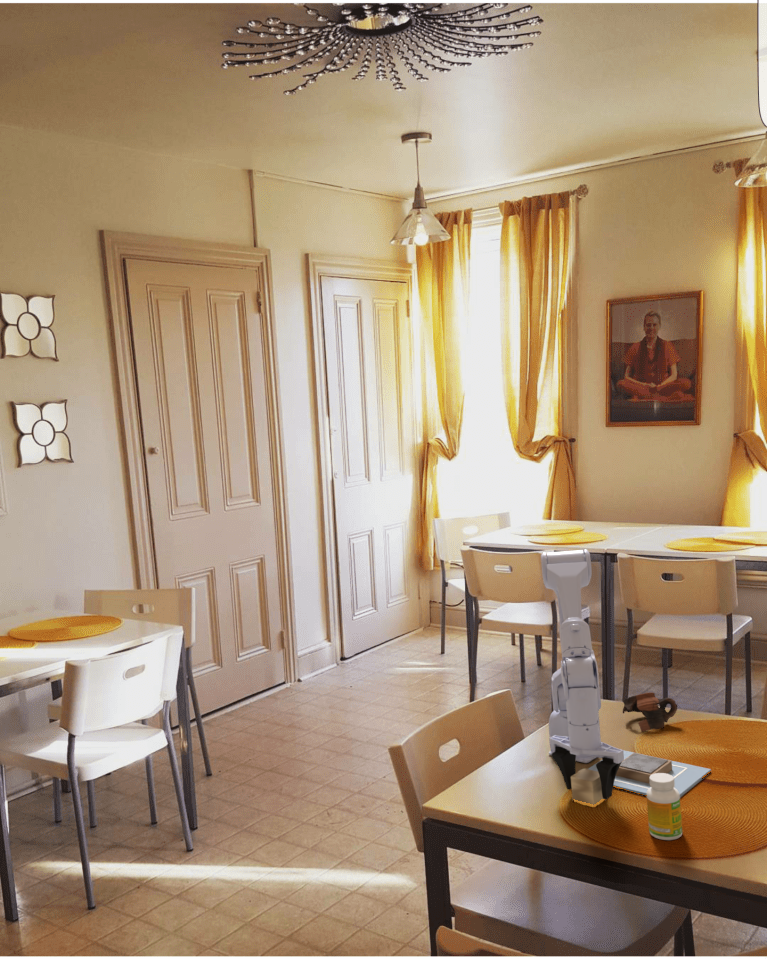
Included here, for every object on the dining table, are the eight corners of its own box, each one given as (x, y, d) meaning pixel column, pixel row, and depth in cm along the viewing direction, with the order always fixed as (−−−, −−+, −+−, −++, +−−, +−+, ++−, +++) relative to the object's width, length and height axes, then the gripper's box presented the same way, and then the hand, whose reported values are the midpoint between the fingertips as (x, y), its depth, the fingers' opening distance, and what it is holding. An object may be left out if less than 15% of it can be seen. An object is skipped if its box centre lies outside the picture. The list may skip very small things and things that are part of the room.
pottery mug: (628, 735, 192) (616, 698, 196) (633, 739, 200) (622, 704, 204) (682, 721, 189) (669, 684, 193) (685, 726, 197) (672, 690, 201)
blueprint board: (577, 778, 171) (576, 766, 171) (618, 751, 182) (617, 739, 182) (673, 803, 157) (672, 789, 157) (711, 772, 168) (710, 759, 168)
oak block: (572, 802, 161) (570, 776, 161) (585, 793, 164) (583, 768, 164) (594, 808, 158) (592, 781, 158) (606, 799, 161) (604, 773, 161)
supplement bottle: (678, 843, 143) (674, 786, 142) (645, 837, 146) (641, 781, 145) (686, 829, 147) (682, 773, 147) (654, 823, 150) (649, 769, 150)
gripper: (538, 720, 163) (544, 791, 163) (607, 734, 152) (613, 809, 153) (558, 709, 168) (564, 777, 168) (627, 722, 157) (632, 795, 158)
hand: (589, 792), depth 161 cm, fingers open, 7 cm apart
